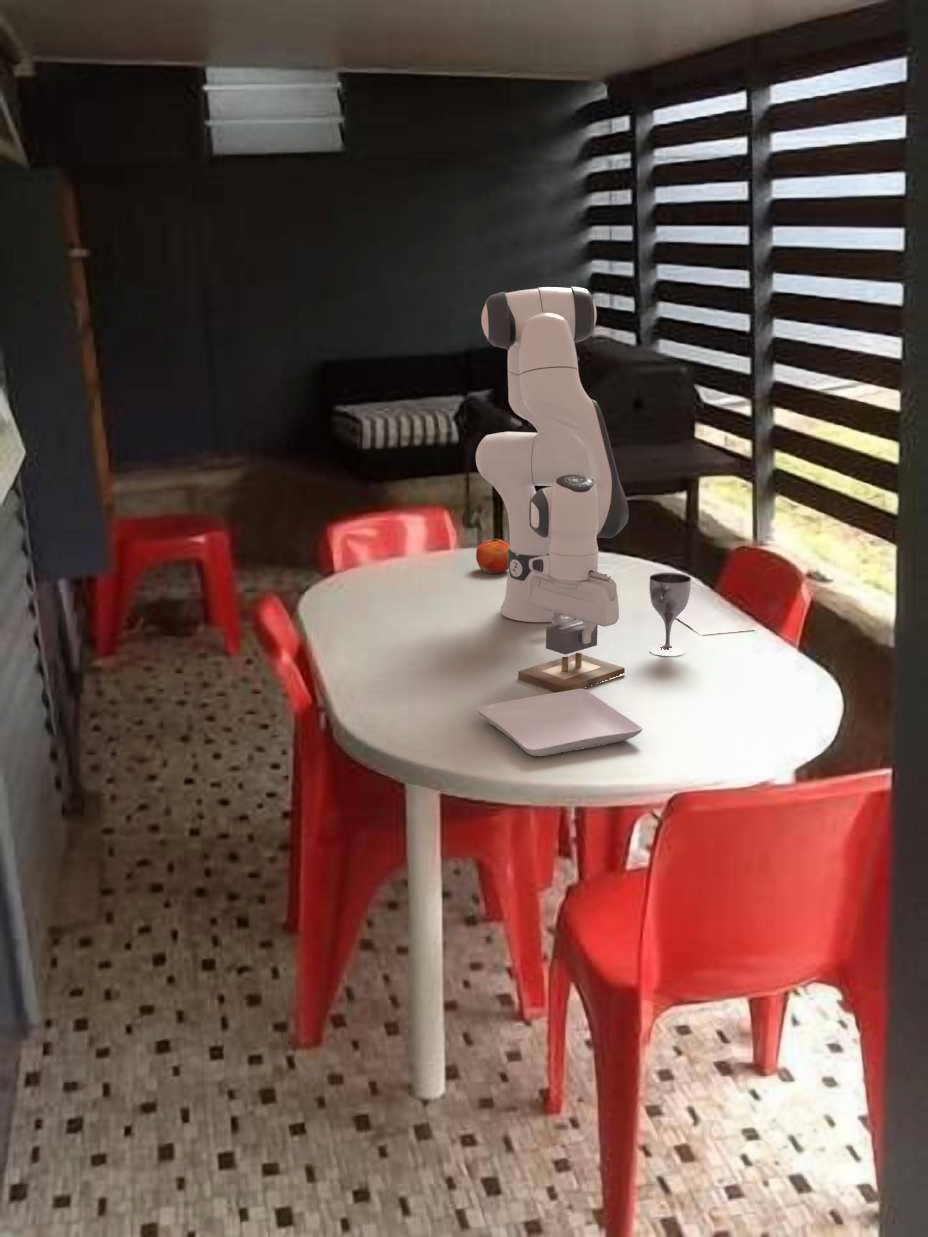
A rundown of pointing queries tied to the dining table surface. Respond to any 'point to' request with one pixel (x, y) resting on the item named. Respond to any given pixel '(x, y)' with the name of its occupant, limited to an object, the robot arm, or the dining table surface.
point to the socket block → (568, 637)
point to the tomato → (493, 556)
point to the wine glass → (669, 597)
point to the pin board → (570, 673)
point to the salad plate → (559, 722)
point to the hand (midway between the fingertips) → (571, 638)
